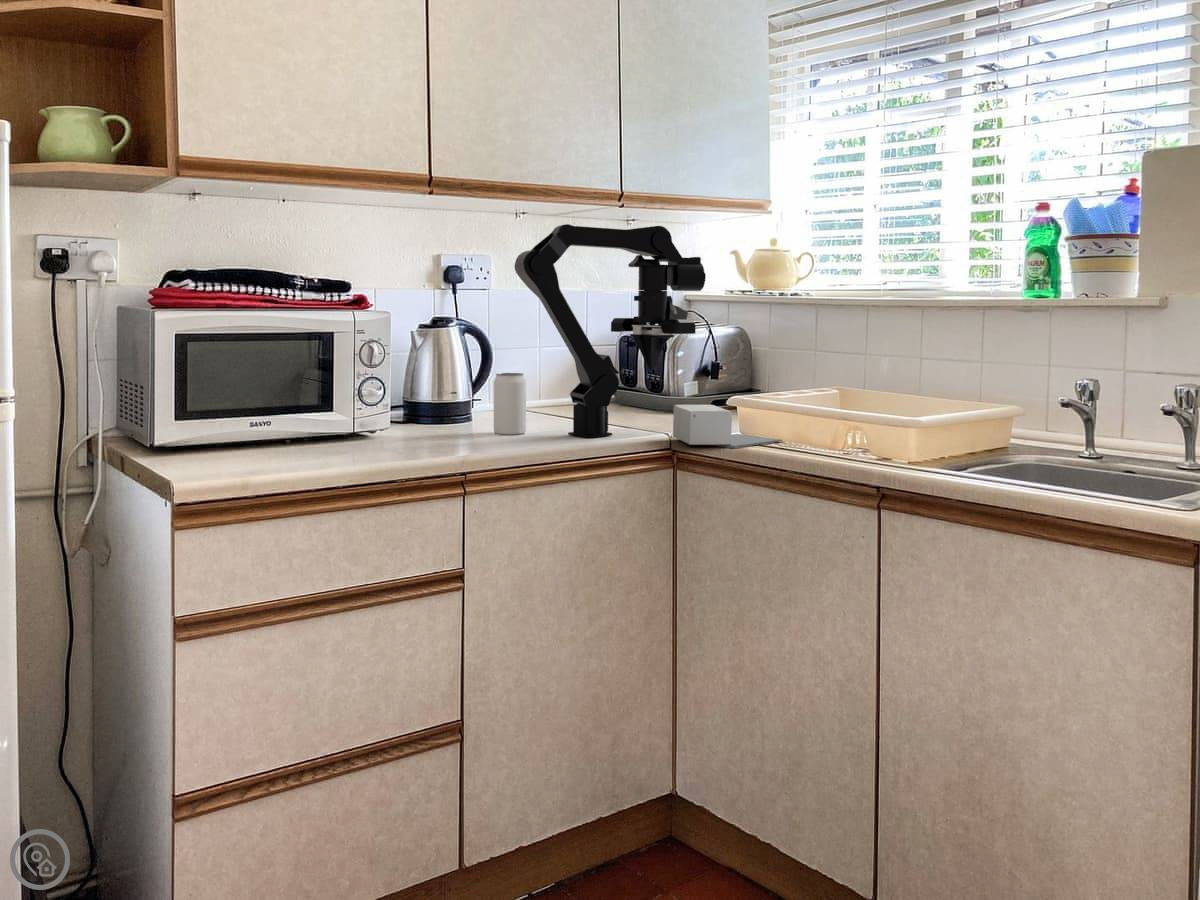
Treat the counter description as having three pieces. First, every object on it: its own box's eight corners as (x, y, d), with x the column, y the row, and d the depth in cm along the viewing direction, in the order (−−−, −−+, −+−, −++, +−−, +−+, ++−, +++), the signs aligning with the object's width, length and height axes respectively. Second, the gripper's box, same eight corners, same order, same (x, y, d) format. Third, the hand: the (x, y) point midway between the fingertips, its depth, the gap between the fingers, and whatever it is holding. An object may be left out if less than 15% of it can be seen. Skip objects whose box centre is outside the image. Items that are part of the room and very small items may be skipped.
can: (532, 433, 215) (532, 373, 213) (508, 436, 210) (508, 375, 208) (511, 430, 219) (510, 372, 217) (487, 433, 214) (486, 373, 213)
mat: (734, 448, 195) (734, 445, 195) (690, 442, 203) (690, 439, 203) (782, 442, 204) (782, 439, 204) (737, 436, 212) (737, 434, 212)
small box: (672, 436, 208) (688, 445, 195) (673, 404, 207) (689, 410, 194) (712, 436, 209) (731, 445, 196) (713, 404, 208) (732, 410, 195)
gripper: (715, 291, 211) (713, 370, 213) (648, 291, 224) (647, 365, 227) (676, 290, 203) (675, 372, 206) (609, 290, 217) (608, 367, 219)
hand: (651, 369), depth 214 cm, fingers closed
